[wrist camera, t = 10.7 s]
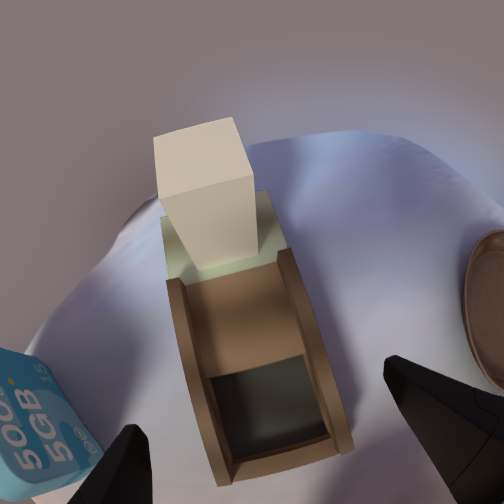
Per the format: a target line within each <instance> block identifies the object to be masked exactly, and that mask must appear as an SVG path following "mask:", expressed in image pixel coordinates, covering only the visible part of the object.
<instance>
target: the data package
mask: <svg viewBox="0 0 504 504" xmlns="http://www.w3.org/2000/svg"><path fill="white" fill-rule="evenodd" d="M103 455H104V453H103V450H102V448H101V447H100V445H99V444H98V443H97V441H96V440H95V439H94V438H93V436H92V435H91V434H90V432H89V431H88V430H87V428H86V427H85V425H84V424H83V423H82V421H81V420H80V418H79V417H78V416H77V414H76V413H75V411H74V410H73V408H72V407H71V405H70V404H69V402H68V401H67V399H66V397H65V396H64V394H63V393H62V391H61V389H60V388H59V386H58V385H57V383H56V381H55V379H54V378H53V376H52V374H51V372H50V371H49V369H48V368H47V366H46V365H45V364H44V363H43V362H42V361H41V360H39V359H38V358H36V357H33V356H29V355H25V354H21V353H17V352H13V351H10V350H6V349H3V348H0V498H1V499H3V500H6V501H9V502H16V501H20V500H24V499H27V498H31V497H34V496H37V495H40V494H44V493H47V492H50V491H53V490H56V489H59V488H61V487H64V486H67V485H70V484H72V483H75V482H77V481H79V480H81V479H82V478H83V477H85V476H86V475H87V474H88V473H90V472H91V471H92V470H93V469H94V467H95V466H96V464H97V463H98V462H99V460H100V459H101V458H102V456H103Z"/></svg>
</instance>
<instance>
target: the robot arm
mask: <svg viewBox="0 0 504 504" xmlns="http://www.w3.org/2000/svg"><path fill="white" fill-rule="evenodd" d="M383 377H384V380H385V382H386V384H387V386H388V388H389V390H390V392H391V394H392V396H393V398H394V400H395V402H396V404H397V406H398V408H399V410H400V412H401V414H402V415H403V417H404V418H405V420H406V421H407V423H408V424H409V426H410V428H411V429H412V431H413V432H414V434H415V435H416V437H417V438H418V440H419V442H420V443H421V445H422V446H423V448H424V449H425V451H426V453H427V454H428V456H429V457H430V459H431V461H432V462H433V464H434V465H435V467H436V469H437V470H438V472H439V474H440V475H441V477H442V479H443V480H444V482H445V483H446V485H447V487H448V488H449V490H450V492H451V494H452V495H453V497H454V499H455V500H456V502H457V504H504V397H501V396H498V395H494V394H491V393H488V392H485V391H482V390H480V389H477V388H475V387H473V388H472V386H469V385H467V384H464V383H462V382H459V381H457V380H454V379H452V378H450V377H447V376H445V375H442V374H440V373H437V372H435V371H433V370H430V369H428V368H425V367H423V366H421V365H418V364H416V363H414V362H411V361H409V360H407V359H404V358H402V357H400V356H397V355H393V356H390V357H388V358H386V359H385V361H384V371H383ZM67 504H153V496H152V469H151V461H150V451H149V442H148V438H147V436H146V435H145V434H144V432H143V431H142V430H141V429H140V427H139V426H138V425H137V424H128V425H126V426H125V427H124V428H123V429H122V431H121V432H120V433H119V435H118V436H117V437H116V439H115V440H114V441H113V443H112V444H111V446H110V447H109V448H108V450H107V451H106V452H105V454H104V455H103V456H102V458H101V459H100V460H99V462H98V463H97V464H96V466H95V467H94V469H93V470H92V471H91V473H90V474H89V475H88V477H87V478H86V479H85V481H84V482H83V483H82V485H81V486H80V487H79V490H77V491H76V493H75V494H74V495H73V497H72V498H71V499H70V501H69V502H68V503H67Z"/></svg>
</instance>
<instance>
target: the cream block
mask: <svg viewBox="0 0 504 504" xmlns="http://www.w3.org/2000/svg"><path fill="white" fill-rule="evenodd" d="M153 139H154V153H155V165H156V176H157V186H158V196H159V201H160V202H161V204H162V206H163V208H164V210H165V212H166V214H167V216H168V217H169V219H170V221H171V223H172V225H173V227H174V229H175V230H176V232H177V234H178V236H179V238H180V239H181V241H182V243H183V245H184V247H185V248H186V250H187V252H188V254H189V255H190V257H191V259H192V261H193V262H194V264H195V266H196V268H197V269H198V271H199V270H203V269H207V268H210V267H214V266H218V265H222V264H225V263H229V262H233V261H237V260H240V259H244V258H248V257H251V256H255V255H258V239H257V221H256V204H255V188H254V174H253V171H252V168H251V166H250V163H249V160H248V158H247V155H246V152H245V150H244V147H243V144H242V142H241V139H240V137H239V134H238V131H237V129H236V126H235V124H234V121H233V119H232V117H229V118H224V119H220V120H216V121H212V122H208V123H203V124H199V125H196V126H192V127H188V128H185V129H181V130H177V131H174V132H170V133H167V134H164V135H160V136H157V137H154V138H153Z"/></svg>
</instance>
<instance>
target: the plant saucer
mask: <svg viewBox="0 0 504 504" xmlns="http://www.w3.org/2000/svg"><path fill="white" fill-rule="evenodd" d="M463 319H464V326H465V332H466V336H467V340H468V343H469V346H470V349H471V351H472V354H473V356H474V358H475V360H476V362H477V364H478V366H479V367H480V369H481V371H482V372H483V374H484V375H485V376H486V378H487V379H488V380H489V381H490V382H491V383H492V384H493V385H494V386H495V387H497V388H498V389H499V390H501V391H503V392H504V230H493V231H491V232H488V233H487V234H485V235H484V236H483V237H482V238H481V239H480V240H479V241H478V242H477V244H476V245H475V247H474V249H473V251H472V253H471V256H470V259H469V262H468V265H467V269H466V273H465V279H464V286H463Z"/></svg>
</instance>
